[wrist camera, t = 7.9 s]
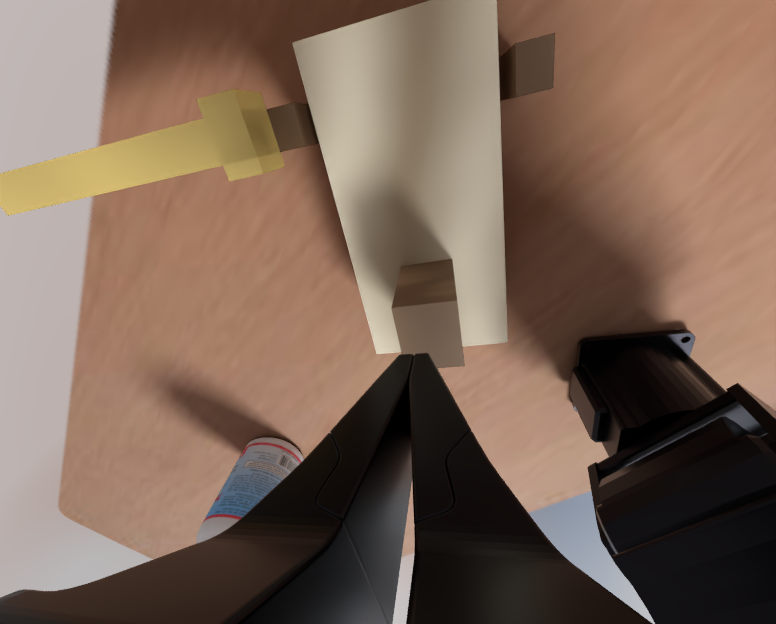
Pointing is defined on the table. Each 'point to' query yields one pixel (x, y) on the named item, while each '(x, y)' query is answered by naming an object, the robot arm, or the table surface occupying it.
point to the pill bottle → (250, 483)
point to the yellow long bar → (154, 156)
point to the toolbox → (516, 78)
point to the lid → (417, 170)
